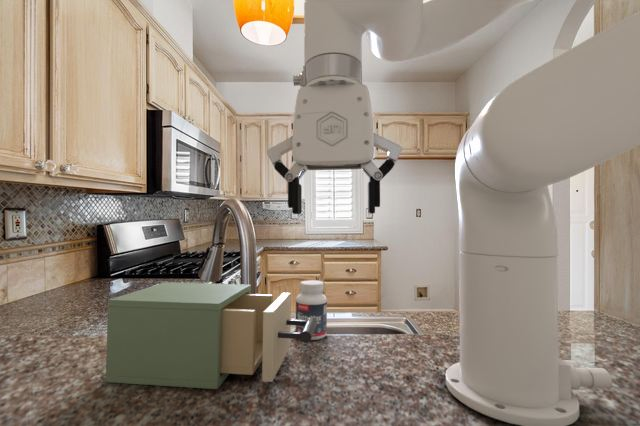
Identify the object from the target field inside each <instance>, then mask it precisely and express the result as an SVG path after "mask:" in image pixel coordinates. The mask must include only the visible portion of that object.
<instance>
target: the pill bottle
mask: <svg viewBox="0 0 640 426" xmlns="http://www.w3.org/2000/svg"><path fill="white" fill-rule="evenodd" d="M324 283H325V282H324V281H322V280H315V279H313V280H312V279H308V280H302V281H300V283H299V291H300V293H299V294H298V295H297V296H296V298H295V299H296V300H295V320H307V319H308V318H310V317H314V318H315V319H316V320H317V324H316V327H315V330H314V333H313V335H312V338H311V341H318V340H321V339H324V338H326V337H327V327H328V325H327V324H328V323H327V321H328V320H327V317H328V299H327V296H326V295H325V294H323V292H324V290H325V287H324V286H325V284H324ZM303 328H304V326H302V325H294V332H300V333H301V332H302V330H303Z"/></svg>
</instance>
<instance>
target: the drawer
mask: <svg viewBox="0 0 640 426" xmlns="http://www.w3.org/2000/svg"><path fill="white" fill-rule="evenodd" d="M291 310H292V293H291V292H282V293H281V294H280V295H279V296H278V297H277V298H276V299H274V295H273V294H260V293H251V294H244V295H242V296H240V297H239V298H237V299H236V300H234V301H233V302H231V303H230V304H228V305H226V306H225V307H223V308H222V309H221V349H220V373H228V374H229V375H231V374H232V375H245V376H253V375H254V374H255V372H256V370H257V369H258V368H259V366H260V365H261V366H262V368H261V371H262V372H261V381H262V382H265V383H267V382H270V383H272V382H273V381H274V379H275V378H276V375H277V374H278V371H279V370H280V368H281V366H282V363H283V362H284V360H285V358H286V356H287V354H288V352H289V350H290V348H291V339H294V340H295V339H297V340H300V342H301V343H303V344H309V343H310V342H311V341H312V340H311V338H312V335H313V333H314V330H315V327H316V324H317V320H316V319H315V318H314V317H310V318H308V319H307V320H296V319H291V316H292V311H291ZM295 325H302V326H304V328H303V330H302V332H301V333H300V332H295V331H291V326H295Z"/></svg>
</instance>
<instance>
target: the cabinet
mask: <svg viewBox="0 0 640 426" xmlns="http://www.w3.org/2000/svg"><path fill="white" fill-rule="evenodd" d="M244 294H252V285H251V284H243V283H241V284H239V283H238V284H237V283H236V284H235V283H208V282H207V283H204V282H174V281H173V282H170V281H165V282H162V283H157V284H155V285H152V286H149V287H146V288H145V287H144V288H143V289H140V290H136V291H132V292H129V293H126V294H123V295H120V296H117V297H113V298H110V299H108V300H107V324H106V325H107V327H106V356H105V357H106V359H105V361H106V362H105V383H111V384H112V383H113V384H127V385H128V384H129V385H145V386H161V387H175V388H176V387H177V388H192V389H206V390H207V389H208V390H218V389H219V388H220V386H221V385H222V384H223V383H224V381H225V380H226V379H227V378H228V377H229V375H230V374H228V373H220V349H221V309H222V308H223V307H225V306H226V305H228V304H230V303H231V302H233V301H234V300H236V299H237V298H239V297H240V296H242V295H244Z"/></svg>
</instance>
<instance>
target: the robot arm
mask: <svg viewBox="0 0 640 426" xmlns="http://www.w3.org/2000/svg"><path fill="white" fill-rule="evenodd" d="M534 1H535V0H429V1H425V2H424V0H304V1H303V2H304V3H303V8H304V9H303V11H304V12H303V28H304V29H303V33H304V34H303V38H304V39H303V43H304V44H303V46H304V47H303V48H304V49H303V51H304V52H303V54H304V57H303V58H304V62H303V64H304V65H303V66H302V69H303V70H302V71H301V73H299V74H295V75H292V83H293V86H294V87H299V88H298V90H297V94H296V99H295V106H294V115H293V125H292V135H291V136H290V137H288V138H286V139H285V140H283V141H281V142H278V143H277V144H276V145H274V146H272V147H270V148H268V149H267V151H266V154H267V156H268V158H269V160H270V162H271V164H272V166H273V167H274V170H275V171H276V172H277V173H278V175H280V176H281V177H282V178H283V179H284V180H285V181H286V182H287V207H288V209H291V212H292V215H301V214H302V213H303V212H302V211H303V210H302V208H303V205H302V204H303V203H302V202H303V201H302V187H303V186H302V185H301V183H300V179H302V178H303V176H304V175H305V174H306V173H307V171H341V170H342V171H343V170H346V171H347V170H362V172H364V173H365V175H366V176H367V177H368V178H369V181H368V183H367V213H369V214H371V215H373V214H375V213H376V208H380V207H381V181H382V180H383V179H384V178H385V177H386V176H387V175H388V174H389V173H390V171H392V170H393V168H394V167H395V165H396V163H397V161H398V159H399V158H400V155H401V154H402V151H403V147H402V146H401V145H400V144H398V143H396V142H394V141H392V140H391V139H390V140H389V139H387V138H386V137H383V136H382V135H379V134H377V133H375V132H374V121H373V119H374V118H373V111H372V109H373V108H372V101H371V95H370V91H369V87H368V86H367V84H364V83H363V64H362V63H363V58H362V57H363V49H362V48H363V45H362V44H363V42H362V38H363V35H364V33H365V36H366V40H367V44H368V47H369V49H370V51H371V53H372V54H373V55H374V56H375V57H377V58H378V59H380V60H381V61H385V62H391V63H394V62H404V61H410V60H413V59H416V58H420V57H423V56H426V55H427V56H428V55H430V54H432V53H436V52H437V53H438V52H439V51H442V50H445V49H447V48H449V47H451V46H454V45H456V44H458V43H459V42H460V43H461V42H462V41H463V40H465V39H467V38H468V37H470V36H472V35H474V34H475V33H477V32H478V31H480V30H482V29H484V28H485V27H487V26H489V25H491V24H492V23H494V22H495V21H498V20H499V19H500V18H501V17H503V16H504V15H506V14H507V13H508V12H510V11H512V10H513V9H515V8H517V7H520V6H522V5H524V4H528V3H531V2H534ZM639 146H640V10H639V11H637V12H635V13H633V14H631V15H629V16H627V17H625V18H623V19H621V20H619V21H618V22H616V23H614V24H613V25H611V26H608V27H607V28H605V29H604V30H601V31H600V32H598V33H596V34H594V35H593V36H591V37H589V38H587V39H586V40H584V41H581V43H579V44H577V45H575V46H573V47H572V48H570V49H568V50H566V51H565V52H563V53H561V54H559V55H558V56H556V57H554V58H552V59H550V60H549V61H546V62H545V63H543V64H541V65H540V66H538V67H536V68H534V69H532V70H531V71H529V72H528V73H525V74H524V75H522V76H521V77H519V78H517V79H515V80H514V81H512V82H510V83H509V84H508V85H507V86H505V87H504V88H502V89H501V90H500V91H499V92H498V93H496V94H495V95H494V96H493V97H492V98H491V99H490V100H489V101H488V103H486V105H485V106H484V107H483V108H482V110H481V111H480V113H479V114H478V115H477V117H476V118H475V119H474V121H473V122H472V123H471V125H470V126H469V128H468V129H467V130H466V132H465V133H464V134H463V137H462V138H461V140H460V142H459V145H458V148H457V151H456V154H455V155H456V156H455V163H454V175H455V178H454V179H455V188H456V196H457V197H456V198H457V210H458V288H459V290H458V292H459V293H458V294H459V295H458V296H459V297H458V298H459V299H458V301H459V303H458V304H459V310H458V311H459V361H458V362H456V363H453V364H451V365H450V366H448V367H447V369H446V370H445V385H446V387H447V389H448V392H449V393H450V394H451V395H452V396H453V397H454V398H455V399H457V400H458V401H459V402H460V403H462V404H463V405H465V406H466V407H468V408H470V409H472V410H473V411H476V412H478V413H479V414H482V415H483V416H486V417H489V418H492V419H494V420H498V421H500V422H504V423H508V424H509V425H510V424H511V425H515V426H570V425H572V424H574V423H575V422H576V421H578V419H579V417H580V402H579V400H578V397H577V395H575V393H574V392H573V391H577V390H579V389H580V388H581V387H588V388H591V389H592V388H593V389H607V390H608V389H610V388H612V386H613V378H612V376H611V374H610V372H609V371H608V370H607V369H606V368H605V367H604V368H603V367H586V366H585V367H584V366H583V367H581V366H580V364H579V362H578V361H577V360H574V359H572V360H571V359H562V358H560V354H559V353H560V347H559V346H560V342H559V341H560V339H559V337H560V336H559V290H558V289H559V287H558V285H559V284H558V283H559V282H558V255H559V252H558V251H559V250H558V246H559V245H558V229H557V222H556V221H557V220H556V215H555V210H554V207H553V202H552V198H551V195H550V190H549V186H551V185H554V184H557V183H560V182H562V181H565V180H568V179H570V178H573V177H575V176H577V175H579V174H581V173H584V172H586V171H588V170H590V169H592V168H594V167H596V166H597V167H598V166H599V165H601V164H603V163H605V162H607V161H609V160H611V159H613V158H615V157H618V156H619V155H622V154H624V153H626V152H629V151H630V150H632V149H634V148H637V147H639ZM375 148H376V149H379V150H380V151H383V152H385V153H386V154H387V158H386V159H385V161H384V162H383V163H382V164H381V165H380V166H379V167H377V166H376V164H375V163H374V162H373V159H374V156H375V155H374V154H375ZM288 152H292V154H291V155H292V160H293V162H294V164H292V166H291V167H290V168H288V167H287V166H286V165H285V164H284V162H283V160H282V159H283V158H282V156H283V155H285V154H288ZM572 390H573V391H572Z"/></svg>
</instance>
